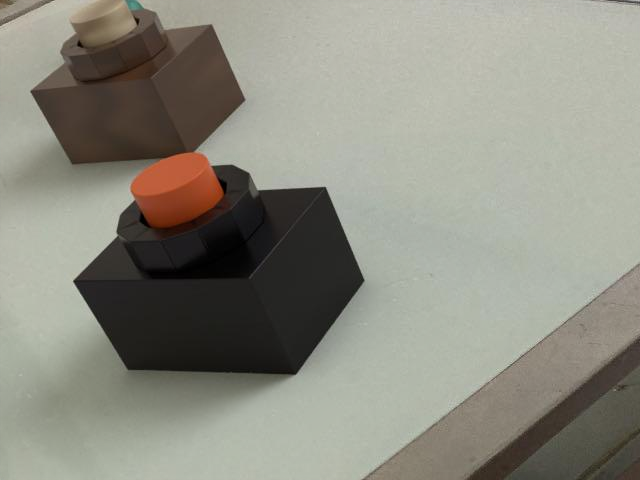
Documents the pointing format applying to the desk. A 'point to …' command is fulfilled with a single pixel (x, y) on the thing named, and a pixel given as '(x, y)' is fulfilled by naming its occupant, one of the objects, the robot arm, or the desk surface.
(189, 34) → the back block
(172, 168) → the front button
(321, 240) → the front block
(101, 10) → the back button
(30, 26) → the desk surface
